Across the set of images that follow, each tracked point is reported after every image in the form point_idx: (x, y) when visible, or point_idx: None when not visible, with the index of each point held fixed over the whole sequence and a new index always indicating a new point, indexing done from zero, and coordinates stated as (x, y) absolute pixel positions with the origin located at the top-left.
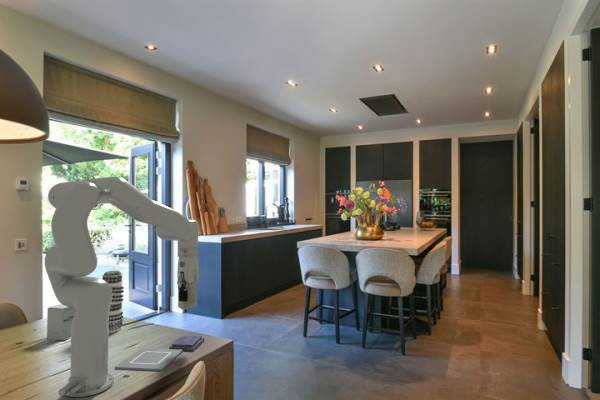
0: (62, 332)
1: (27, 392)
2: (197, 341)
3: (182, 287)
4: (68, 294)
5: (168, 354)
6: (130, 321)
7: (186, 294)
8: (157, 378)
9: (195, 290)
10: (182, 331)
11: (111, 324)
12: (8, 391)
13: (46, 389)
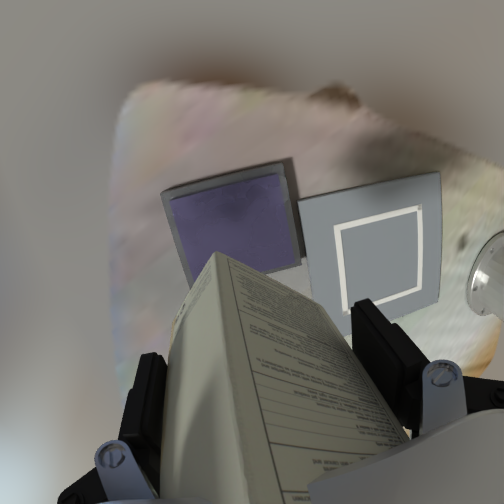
0: None
1: (494, 342)
2: (222, 186)
3: (501, 382)
4: None
5: (353, 223)
6: None
7: (397, 339)
8: (465, 156)
9: (253, 350)
10: (119, 336)
11: None
12: (487, 365)
13: (491, 329)
